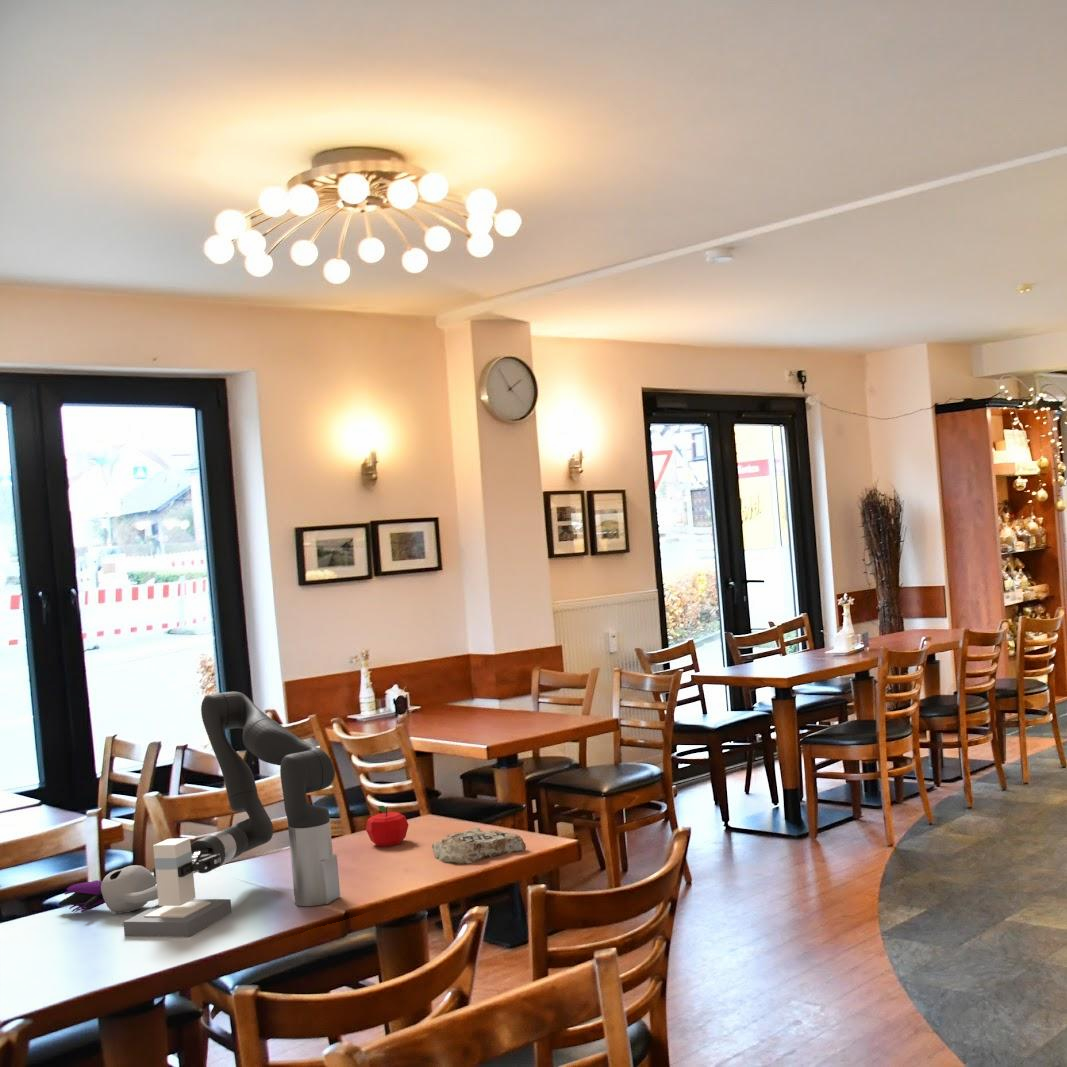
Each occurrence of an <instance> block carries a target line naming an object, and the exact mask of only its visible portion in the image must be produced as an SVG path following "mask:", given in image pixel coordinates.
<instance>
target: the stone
mask: <svg viewBox="0 0 1067 1067" xmlns="http://www.w3.org/2000/svg"><path fill="white" fill-rule="evenodd" d="M526 846H527V845H526V843H525V842H524V840H523V837H521V836H520V835H518V834H515V833H509V832H501V831H499V830H494V829H493V830H492V829H490V830H488V831H483V830H481V829H480V828H479V827H475V828H472V829H466V830H463V831H461V832H460V831H459V832H457V831H456V832H455V831H454V832H453V833H450V834H447V835H446V836H445V838H443V839H441V840H440V841H437V842H434V843H432V845H431V848H432V852H433V855H434V859H436V860H439V861H440V862H443V863H456V864H465V865H468V864H473V863H475V862H478V861H481V860H486V859H490V858H496V857H498V856H502V855H505V854H511V853H519V852H521V853H522V852H525V850H526V849H527V847H526Z"/></svg>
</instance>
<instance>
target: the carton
mask: <svg viewBox="0 0 1067 1067" xmlns="http://www.w3.org/2000/svg"><path fill="white" fill-rule="evenodd" d="M191 844H192V843H191V838H189V837H188V838H187V837H183V838H181V837H180V838H167V839H165V840H163V841H160V842H158V843H155V844H153V845H152V846H153V862H154V867H155V871H156V882H157V884H156V886H157V892H158V899H157V900H158V904H159V906H181V905H183V904H185V903H187V902H189V901H191V900H193V899H197V898H196V888H195V879H194V873H190V874H188V875H186V876H184V877H178V867H180V866H182V865H184V864H186V863H190V861H192V851H191Z"/></svg>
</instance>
